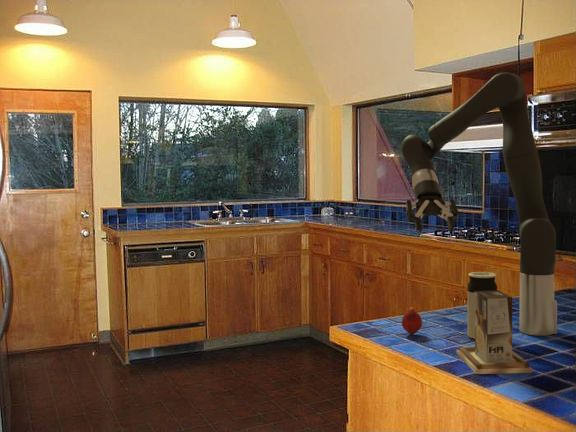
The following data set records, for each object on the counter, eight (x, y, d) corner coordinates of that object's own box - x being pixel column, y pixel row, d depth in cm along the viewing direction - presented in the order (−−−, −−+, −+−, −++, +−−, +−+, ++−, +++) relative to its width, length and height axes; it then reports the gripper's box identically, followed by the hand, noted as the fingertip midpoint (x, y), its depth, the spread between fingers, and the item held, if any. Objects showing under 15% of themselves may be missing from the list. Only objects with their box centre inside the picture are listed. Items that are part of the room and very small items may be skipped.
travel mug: (461, 335, 175) (461, 273, 174) (483, 332, 178) (483, 270, 177) (480, 342, 168) (480, 277, 166) (503, 338, 171) (503, 274, 169)
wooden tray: (506, 352, 158) (506, 344, 158) (532, 372, 142) (532, 364, 142) (456, 353, 158) (456, 346, 158) (476, 374, 142) (476, 365, 142)
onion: (422, 337, 173) (422, 309, 173) (401, 337, 174) (401, 309, 174) (422, 332, 179) (421, 305, 178) (401, 332, 180) (401, 305, 179)
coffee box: (513, 363, 145) (513, 297, 144) (487, 364, 145) (487, 297, 144) (498, 352, 155) (498, 289, 153) (473, 353, 154) (473, 290, 153)
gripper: (403, 179, 178) (412, 221, 167) (452, 178, 178) (464, 220, 167) (400, 196, 184) (408, 239, 173) (447, 195, 184) (458, 238, 173)
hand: (436, 230), depth 170 cm, fingers open, 8 cm apart
